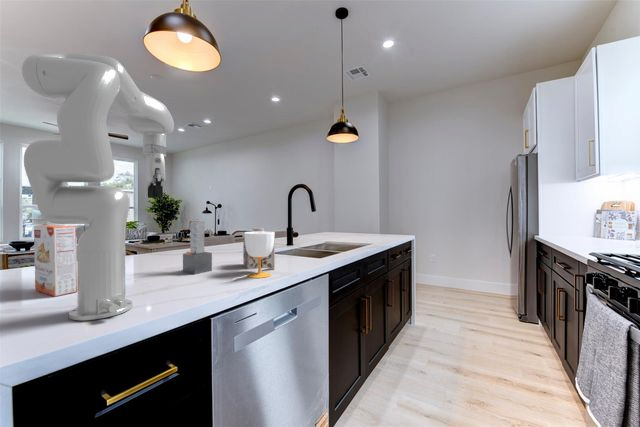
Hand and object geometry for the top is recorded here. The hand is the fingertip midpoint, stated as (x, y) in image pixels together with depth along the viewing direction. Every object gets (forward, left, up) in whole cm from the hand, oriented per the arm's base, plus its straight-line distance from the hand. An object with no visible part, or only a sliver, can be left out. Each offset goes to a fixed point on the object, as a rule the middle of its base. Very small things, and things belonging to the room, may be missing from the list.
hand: (154, 197), depth 105 cm
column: (-9, -12, -29) cm, 33 cm away
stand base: (-9, -12, -31) cm, 34 cm away
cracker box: (+8, +26, -31) cm, 41 cm away
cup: (-31, -24, -31) cm, 50 cm away
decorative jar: (-21, -34, -31) cm, 50 cm away
